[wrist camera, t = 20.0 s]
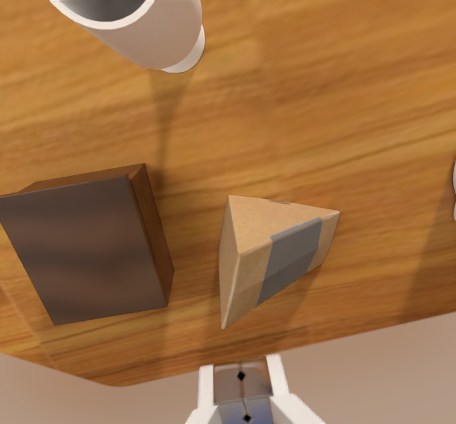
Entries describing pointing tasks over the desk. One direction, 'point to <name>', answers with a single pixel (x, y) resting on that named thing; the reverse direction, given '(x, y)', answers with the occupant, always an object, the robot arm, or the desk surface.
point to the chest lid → (84, 248)
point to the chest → (146, 209)
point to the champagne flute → (144, 29)
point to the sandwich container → (268, 250)
